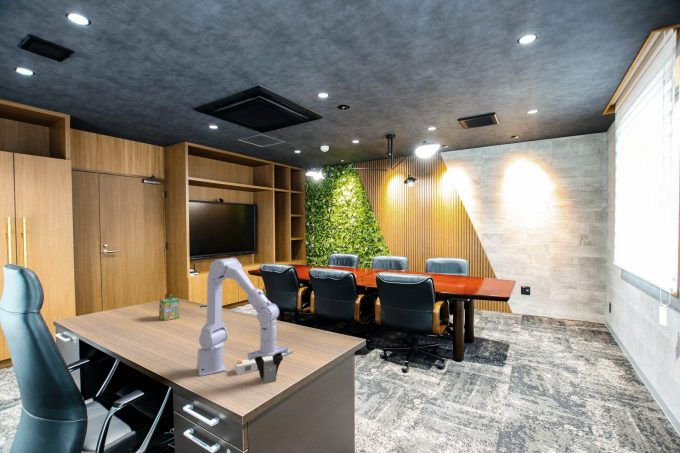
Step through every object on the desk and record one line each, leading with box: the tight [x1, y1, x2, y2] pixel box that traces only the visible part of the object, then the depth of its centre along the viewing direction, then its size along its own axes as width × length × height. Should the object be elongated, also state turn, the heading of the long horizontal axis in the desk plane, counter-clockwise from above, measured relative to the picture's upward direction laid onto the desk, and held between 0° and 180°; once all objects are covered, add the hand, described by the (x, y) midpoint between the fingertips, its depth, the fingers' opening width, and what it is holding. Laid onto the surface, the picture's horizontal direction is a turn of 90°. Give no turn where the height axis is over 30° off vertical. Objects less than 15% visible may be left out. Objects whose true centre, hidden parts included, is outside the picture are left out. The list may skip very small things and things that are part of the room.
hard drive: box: [276, 345, 294, 358], centre depth 146 cm, size 2×8×12 cm
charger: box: [259, 361, 277, 384], centre depth 120 cm, size 4×7×6 cm, turn 30°
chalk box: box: [158, 293, 180, 321], centre depth 201 cm, size 9×9×15 cm
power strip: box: [233, 356, 284, 376], centre depth 130 cm, size 19×5×4 cm, turn 120°
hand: (268, 375), depth 120 cm, fingers closed on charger, 4 cm apart
